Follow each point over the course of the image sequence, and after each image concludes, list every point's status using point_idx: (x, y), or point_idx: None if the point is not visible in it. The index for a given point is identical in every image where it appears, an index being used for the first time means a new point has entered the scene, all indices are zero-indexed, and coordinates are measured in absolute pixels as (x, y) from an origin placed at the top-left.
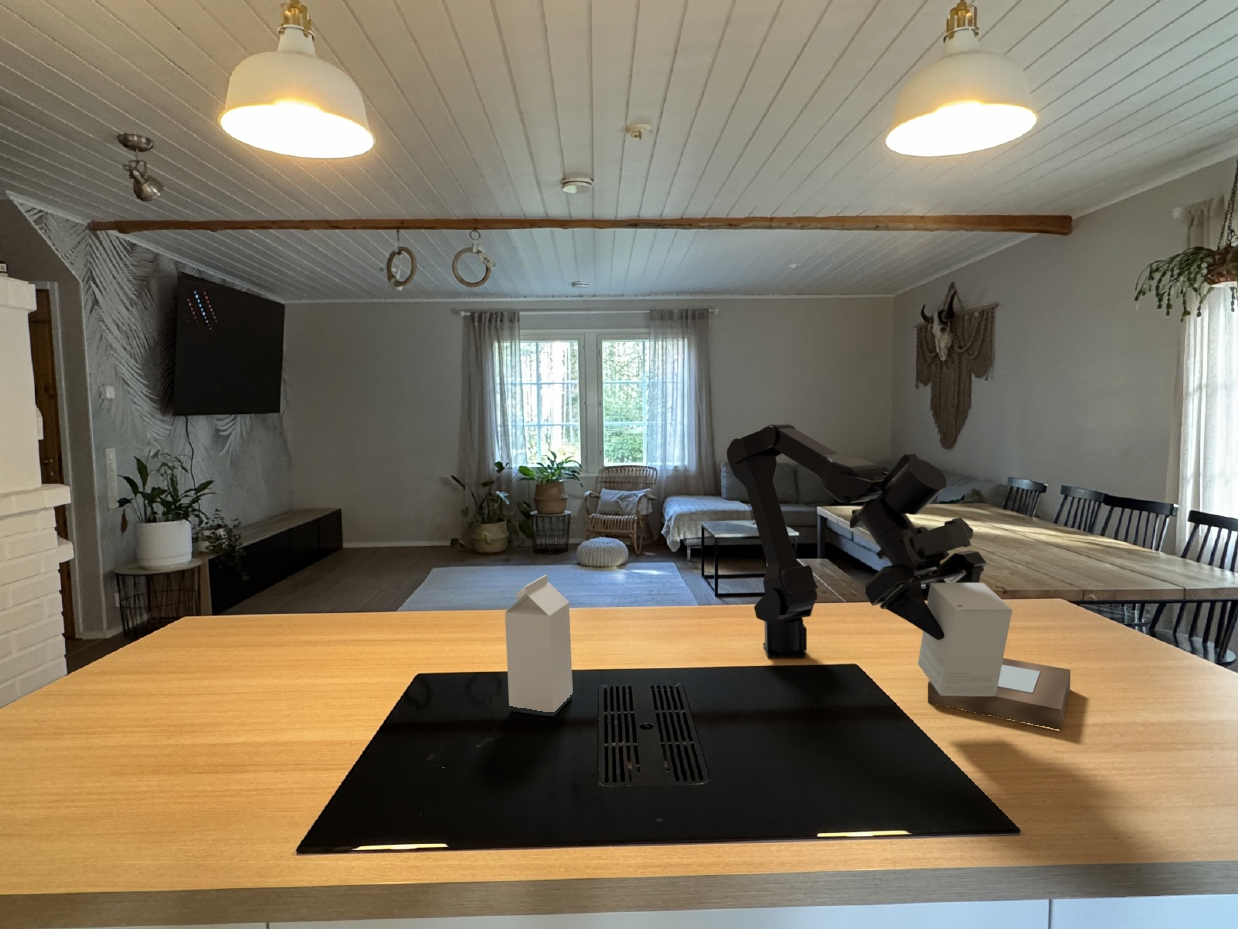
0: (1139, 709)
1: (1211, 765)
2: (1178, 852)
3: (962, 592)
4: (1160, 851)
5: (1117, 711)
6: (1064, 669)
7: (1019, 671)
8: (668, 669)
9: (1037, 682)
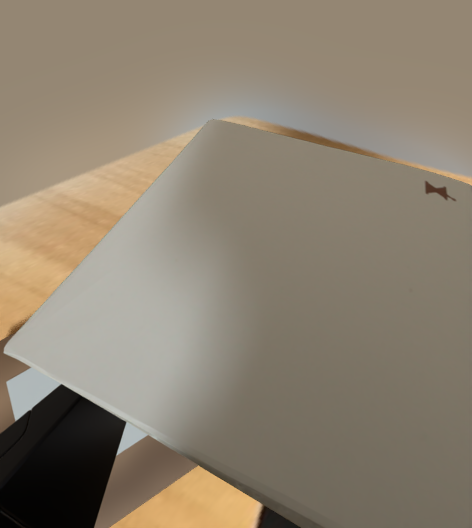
0: (2, 277)
1: (98, 177)
2: (262, 124)
3: (330, 281)
4: (272, 128)
5: (29, 284)
6: None
7: (33, 399)
8: None
9: None
